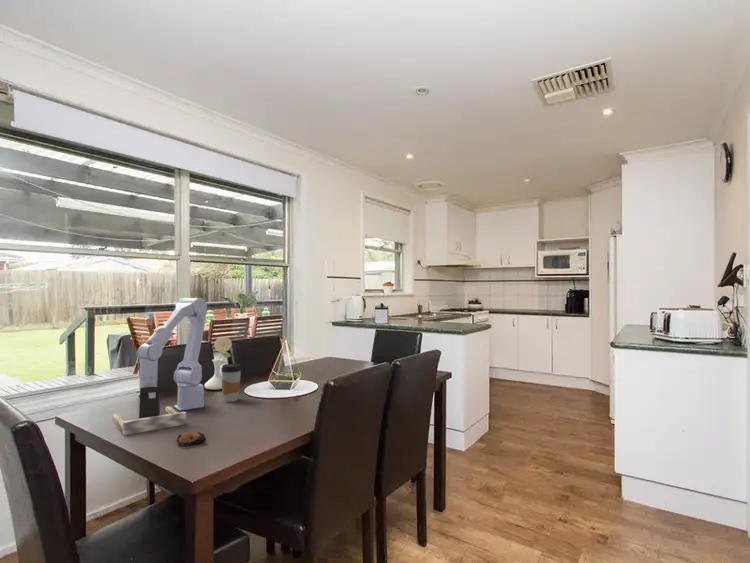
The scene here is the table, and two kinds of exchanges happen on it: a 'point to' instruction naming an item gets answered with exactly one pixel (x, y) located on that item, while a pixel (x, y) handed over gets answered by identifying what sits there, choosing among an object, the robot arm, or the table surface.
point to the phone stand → (149, 402)
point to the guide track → (151, 422)
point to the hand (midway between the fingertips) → (147, 414)
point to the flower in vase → (219, 363)
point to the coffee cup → (230, 382)
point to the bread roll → (191, 440)
